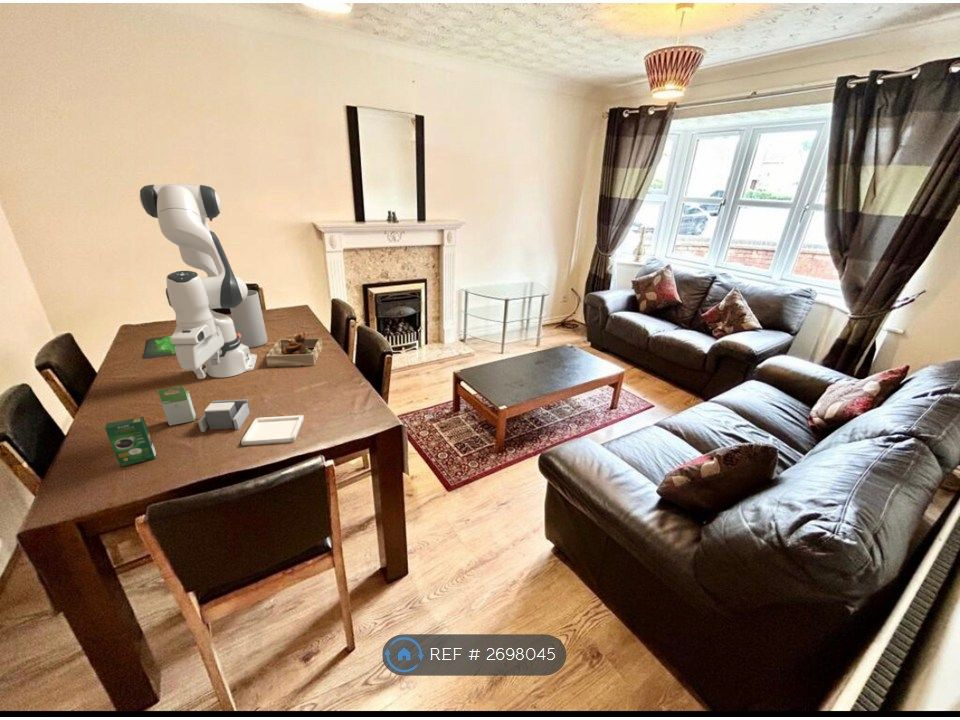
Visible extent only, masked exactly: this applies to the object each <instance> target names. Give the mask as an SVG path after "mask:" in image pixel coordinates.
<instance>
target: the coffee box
mask: <svg viewBox="0 0 960 720" xmlns="http://www.w3.org/2000/svg"><path fill="white" fill-rule="evenodd" d="M104 429H105V432H106V435H107V437H108V440H109V443H110V445H111V447H112V451H113V452H114V455H115V457H116V460H117V462H118V464H119V466H120V467H125V466H131V465H135V464H137V463H143V462H146V461H151V460H155V459H156V457H157V452H156V449H155V446H154V443H153V440H152V438H151V435H150V431H149V429H148V425H147V423H146V420H145V417H144V416H139V417H134V418H130V419H124V420H117V421H111V422H107V423H106V425H105V427H104Z"/></svg>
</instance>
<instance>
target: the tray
mask: <svg viewBox="0 0 960 720" xmlns="http://www.w3.org/2000/svg"><path fill="white" fill-rule="evenodd" d="M304 419H305V415H304V414H301V415H297V414H296V415H284V416H282V415H281V416H269V417H266V416H265V417H264V416H263V417H255V419H254V420H253V422H252V423H251V424H250V427H249V428H248V429H247V431H246V432H245V435H244V436H243V437H242V439H241V441H240V443H241V446H255V445H268V444H269V445H270V444H282V443H285V444H286V443H294V442H296V440H297V437H298V435H299V433H300V430H301V428H302V425H303V422H304Z"/></svg>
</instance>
